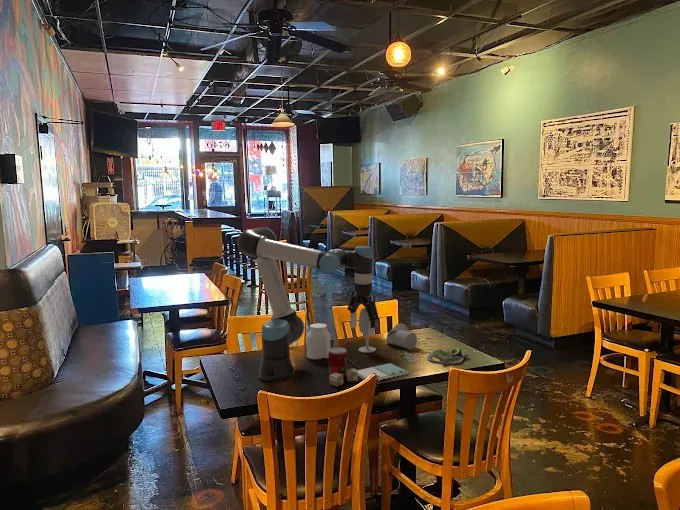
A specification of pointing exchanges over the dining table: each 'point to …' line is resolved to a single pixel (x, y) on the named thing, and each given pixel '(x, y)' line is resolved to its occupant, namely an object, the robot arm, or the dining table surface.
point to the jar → (318, 341)
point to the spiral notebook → (382, 372)
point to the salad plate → (447, 356)
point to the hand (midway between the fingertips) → (362, 331)
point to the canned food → (337, 360)
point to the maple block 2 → (351, 375)
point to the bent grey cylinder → (402, 337)
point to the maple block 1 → (336, 379)
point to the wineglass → (365, 331)
